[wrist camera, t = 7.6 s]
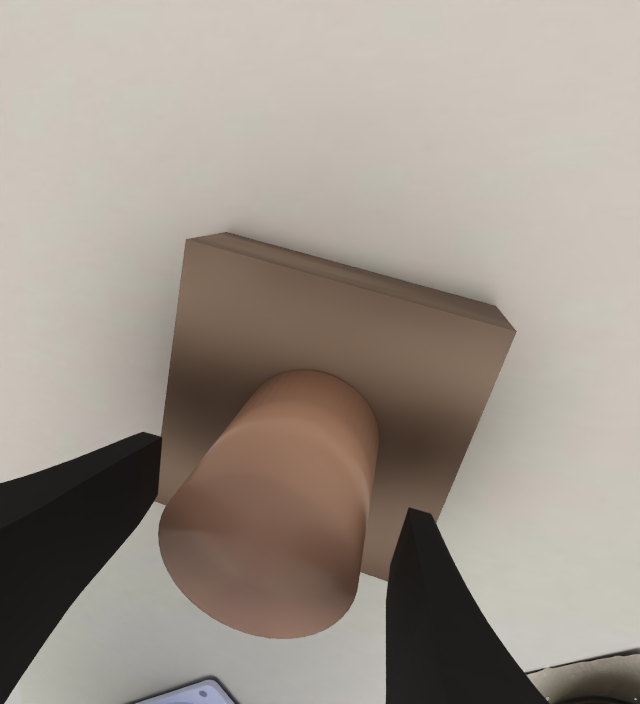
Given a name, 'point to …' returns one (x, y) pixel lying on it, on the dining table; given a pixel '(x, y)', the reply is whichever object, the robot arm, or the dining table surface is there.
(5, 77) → the dining table surface
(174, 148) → the dining table surface
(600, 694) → the condiment
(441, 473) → the walnut block
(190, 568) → the terracotta cylinder
